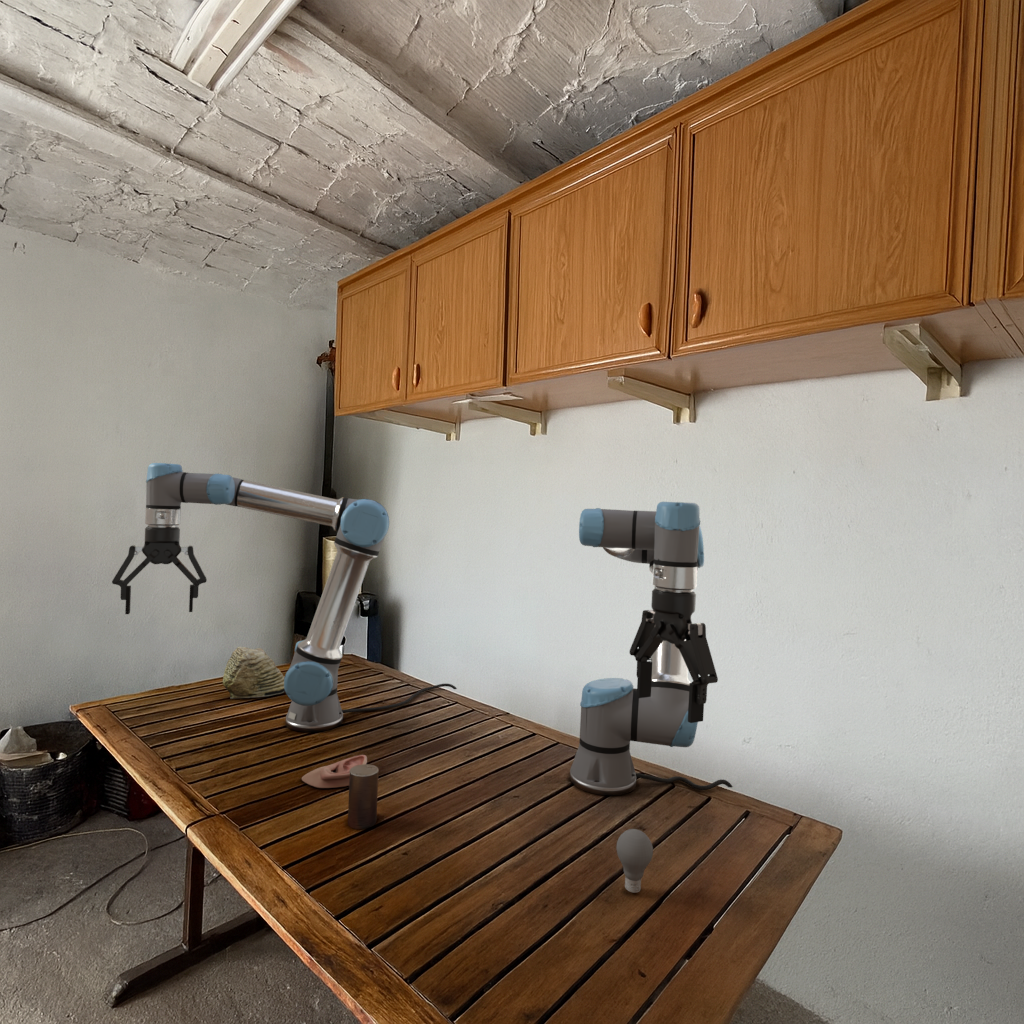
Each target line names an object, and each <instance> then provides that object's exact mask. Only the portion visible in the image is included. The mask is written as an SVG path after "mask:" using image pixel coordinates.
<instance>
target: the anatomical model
mask: <svg viewBox="0 0 1024 1024" xmlns="http://www.w3.org/2000/svg"><path fill="white" fill-rule="evenodd" d="M362 764H368V757H367V755H365V754H359V755H354V756H351V757H347V758H345V759H342V760H340V761H337V762H334V763H331V764H328V765H325V766H324V765H323V766H321V767H318V768H315V769H313V770H311V771H309V772H307V773H306V774H304V775H302V777H301V781H302V782H303V783H305V784H307V785H308V786H311V787H314V788H317V789H332V788H343V787H347V786H348V787H349V778H350V769H351V768H352V767H354V766H357V765H362Z"/></svg>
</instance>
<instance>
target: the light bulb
mask: <svg viewBox="0 0 1024 1024" xmlns="http://www.w3.org/2000/svg"><path fill="white" fill-rule="evenodd" d="M615 849H616V854H617V857H618V859H619V861H620V863H621V865H622V867H623V873H624V874H623V875H624V876H625V878H624V888H625V890H627V891H628V892H630V893H634V894H635V893H639V892H640V891H641V889H642V887H641V886H642V879H643V877H644V875H645V871H646V868H647V867H648V866H649V864H650V863H651V861H652V859H653V855H654V847H653V843H652V841H651V838H649V836H648V835H647V834H646V833H645V832H643V831H642V830H641V829H636V828H629V829H627V830H625V831H623V832H622V833H621V834H620V835H619V837H618V839H617V841H616V847H615Z"/></svg>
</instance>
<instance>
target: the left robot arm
mask: <svg viewBox="0 0 1024 1024" xmlns="http://www.w3.org/2000/svg"><path fill="white" fill-rule="evenodd" d="M145 484H146V486H145V488H146V489H145V515H144V516H145V519H144V523H145V525H147V526H146V527H145V528H144V544H143V546H138V545H134V544H132V545H130V546H129V547H128V554H127V556H126V557H125V559H124V561H123V562H122V564H121V566H120V568H118V571H117V572H116V574H115V576H113V579H112V581H111V583H112V585H116V586H119V587H120V601H125V609H124V613H125V615H130V614H131V599H132V596H131V595H132V585H129V583H131V582H132V581H133V579H135V577H137V576H138V574H140V573H141V572H142V571H143V570H144V569H145V568H146V567H147V566H148V565H149V564H150V563H151V564H153V565H161V564H162V565H170V564H172V563H173V565H174V566H175V567H176V568H178V569H179V571H180V572H181V573H182V574H183V575H184V577H185V578H186V579H188V580H189V581H190V583H191V584H189V601H188V603H189V604H188V612H189V613H193V611H194V608H193V607H194V599H198V598H199V587H200V585H201V584H205V583H207V582H208V581H207V577H206V575H205V573H204V571H203V569H202V567H201V565H200V563H199V561H198V559H197V558H196V556H195V554H194V546H193V545H188V546H181V544H180V542H181V541H180V539H181V537H180V536H181V528H180V527H178V526H180V525H181V510H182V509H181V507H182V506H181V505H182V503H184V504H189V503H190V504H205V505H216V506H217V505H218V506H219V505H227V506H231V507H237V508H243V509H247V510H252V511H256V512H260V513H261V512H262V513H266V514H271V515H275V516H281V517H284V518H290V519H295V520H300V521H303V522H304V521H305V522H309V523H315V524H319V525H323V526H328V527H332V529H333V531H334V532H336V536H335V539H334V542H333V544H334V546H335V549H336V554H335V557H334V559H333V562H332V565H331V568H330V571H329V574H328V577H327V579H326V583H325V585H324V588H323V591H322V594H321V597H320V599H319V602H318V605H317V608H316V610H315V613H314V616H313V619H312V622H311V625H310V628H309V630H308V633H307V636H306V638H305V639H303V640H299V641H297V642H296V643H295V648H294V653H293V657H292V660H291V662H290V666H289V668H288V670H287V671H286V673H285V675H284V677H285V678H284V688H285V691H284V693H285V694H286V695H287V697H288V698H289V700H290V701H291V702H290V704H289V708H288V711H287V713H286V715H285V726H286V728H287V729H289V730H291V731H294V732H295V731H296V732H301V733H316V732H325V731H329V730H332V729H335V728H337V727H339V726H340V725H342V723H343V722H344V714H346V713H347V714H348V713H361V712H375V711H381V710H382V711H383V710H387V709H393V708H398V707H400V706H401V707H402V706H403V705H406V704H408V703H409V702H410V701H412V700H413V699H414V698H415V697H417V696H419V695H420V694H422V693H424V692H427V691H430V690H435V689H439V688H442V687H448V688H452V689H453V690H457V689H458V688H457V687H456V686H455V685H453V684H451V683H439V684H436V685H432V686H433V687H432V686H428V687H424V688H422V689H421V688H420V689H419V690H418V691H417V692H415V693H413V694H412V695H411V696H410V697H408V698H407V699H405V700H402V701H400V702H397V703H393V704H388V705H383V706H375V707H364V708H362V707H361V708H349V709H346V708H345V709H342V706H341V702H340V699H339V695H338V682H339V681H338V680H339V679H338V677H339V668H340V665H341V662H342V659H343V653H342V652H341V649H340V647H341V644H342V641H343V638H344V635H345V633H346V630H347V627H348V625H349V621H350V619H351V617H352V613H353V610H354V608H355V605H356V601H357V599H358V596H359V593H360V591H361V587H362V584H363V581H364V580H365V579H364V578H365V577H366V573H367V570H368V568H369V564H370V562H371V561H372V560H375V559H376V558H378V557H379V554H380V551H381V548H382V546H383V542H384V540H385V537H386V536H387V533H388V531H389V528H390V516H389V513H388V512H387V509H386V508H385V507H384V505H382V504H381V503H380V502H379V501H376V500H374V499H371V498H370V499H369V498H362V499H361V498H360V499H359V498H357V499H356V498H349V497H345V496H342V497H340V498H338V499H337V498H332V497H327V496H322V495H318V494H314V493H313V494H312V493H308V492H305V491H299V490H295V489H290V488H285V487H280V486H276V485H270V484H267V483H261V482H257V481H252V480H247V479H243V478H242V479H241V478H236V477H233V476H231V475H230V474H225V473H224V474H223V473H206V472H205V473H204V472H203V473H201V472H186V471H184V470H183V467H182V465H181V464H178V463H164V462H152V463H150V464H149V465H148V466H147V473H146V481H145ZM140 552H141V553H142V554H143V555H144V556H145V557H146V558H144V559H143V561H142V562H140V564H138V565H137V567H136V568H135V569H133V571H132V572H131V573H130V574H128V575H127V576H126V577H125V578H124V579H122V577H123V576H124V574H125V572H126V571H127V569H128V568H129V566H130V564H131V562H132V561H133V559H134V557H135V556H138V555H139V553H140ZM181 552H182V553H184V555H185V556H187V557H188V560H189V561H190V563H191V565H192V566H193V568H194V571H195V572H196V574H197V576H198V578H196V577H195V575H194V574H193V573H192V572H191V571H190V570H189V569H188V568H187V567H186V566H185V565H184V564H183V563H182V561H181V560H180V559H179V558H178V556H179V555H180V554H181Z"/></svg>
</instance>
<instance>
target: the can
mask: <svg viewBox="0 0 1024 1024" xmlns="http://www.w3.org/2000/svg"><path fill="white" fill-rule="evenodd" d="M379 771H380V770H379V767H378V766H376V765H374V764H369V763H367V764H362V765H357V766H354V767H352V768H351V769H350V778H349V786H348V803H347V804H348V805H347V825H348V827H349V828H352V829H355V830H367V829H369V828H372V827H374V826H375V825H376V823H377V820H378V819H377V816H378V795H379V792H378V791H379V788H378V787H379Z"/></svg>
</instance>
